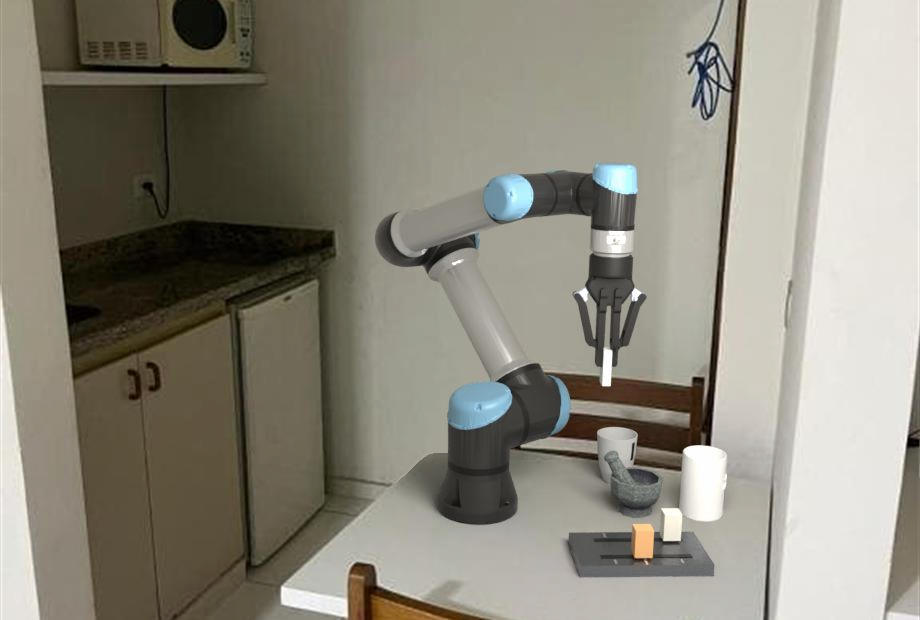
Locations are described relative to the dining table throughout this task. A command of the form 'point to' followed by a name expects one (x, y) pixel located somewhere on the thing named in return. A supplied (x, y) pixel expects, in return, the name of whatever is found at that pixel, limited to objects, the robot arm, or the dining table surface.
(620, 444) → the cup
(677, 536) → the fader
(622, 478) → the mortar and pestle
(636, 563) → the console
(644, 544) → the fader
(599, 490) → the dining table surface
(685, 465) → the mug
